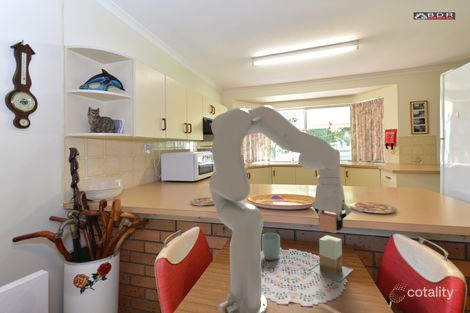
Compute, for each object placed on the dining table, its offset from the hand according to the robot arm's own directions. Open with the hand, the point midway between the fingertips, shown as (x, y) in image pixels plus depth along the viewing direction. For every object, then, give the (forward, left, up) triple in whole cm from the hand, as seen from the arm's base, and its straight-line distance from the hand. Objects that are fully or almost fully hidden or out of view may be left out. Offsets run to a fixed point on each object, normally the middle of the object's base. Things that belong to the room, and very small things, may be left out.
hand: (330, 227), depth 86 cm
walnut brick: (0, 0, -17) cm, 17 cm away
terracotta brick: (0, 0, -1) cm, 1 cm away
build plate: (0, 0, -17) cm, 17 cm away
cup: (-8, +23, -18) cm, 30 cm away
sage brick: (0, 0, -11) cm, 11 cm away
